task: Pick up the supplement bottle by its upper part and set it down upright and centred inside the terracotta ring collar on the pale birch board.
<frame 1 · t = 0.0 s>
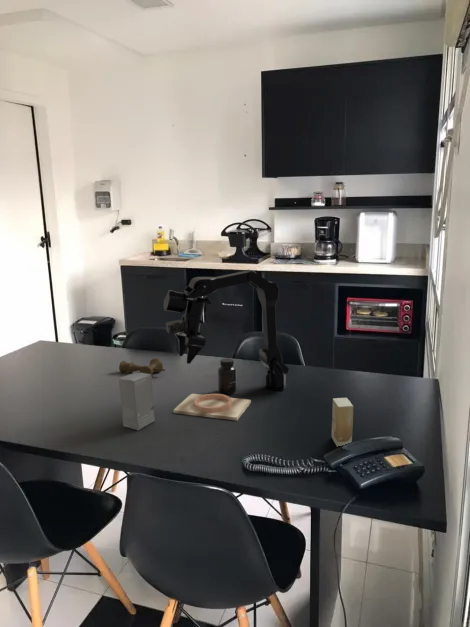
hand: (184, 359, 171), 15 cm above the table, tool pointing down, fingers open, 9 cm apart
supplement bottle: (227, 392, 183), on the table
skincare box 2: (341, 442, 143), on the table
ring collar: (212, 402, 169), on the birch board, point 1 cm above the table
skincare box: (138, 424, 158), on the table
birch board: (212, 407, 169), on the table
kendama: (143, 375, 204), on the table
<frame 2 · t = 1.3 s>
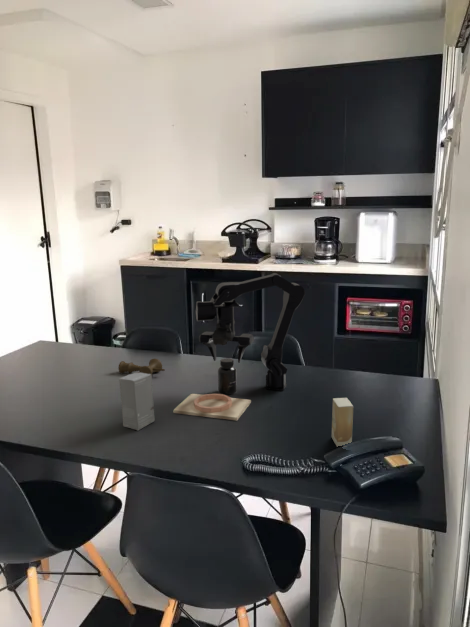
hand: (227, 361, 181), 11 cm above the table, tool pointing down, fingers open, 9 cm apart
nothing on the table moved.
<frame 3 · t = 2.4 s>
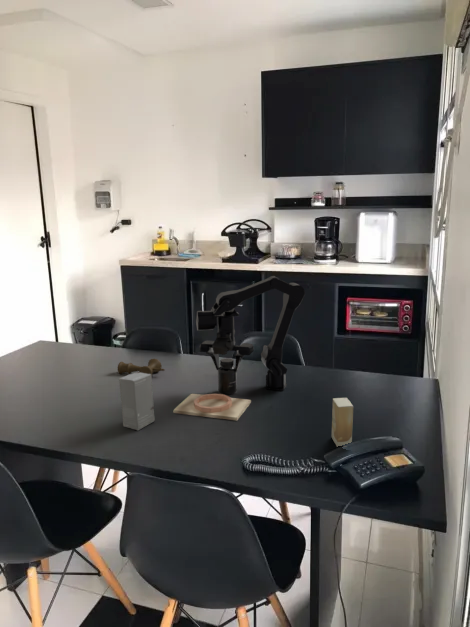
hand: (227, 370, 181), 8 cm above the table, tool pointing down, fingers closed on supplement bottle, 7 cm apart
supplement bottle: (227, 392, 183), on the table, touching gripper
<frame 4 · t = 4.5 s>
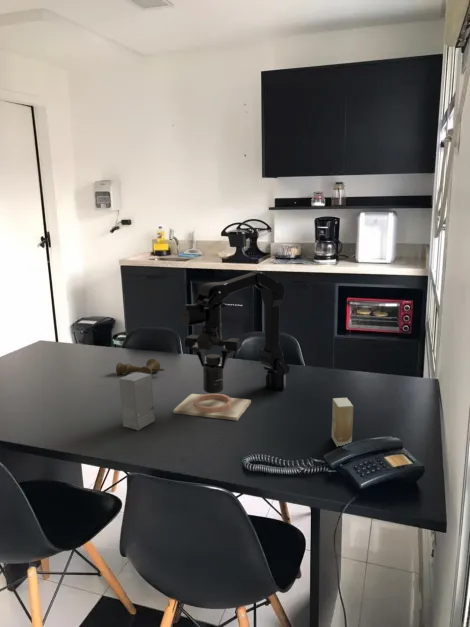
hand: (213, 367, 168), 13 cm above the table, tool pointing down, fingers closed on supplement bottle, 7 cm apart
supplement bottle: (213, 390, 170), point 5 cm above the table, touching gripper
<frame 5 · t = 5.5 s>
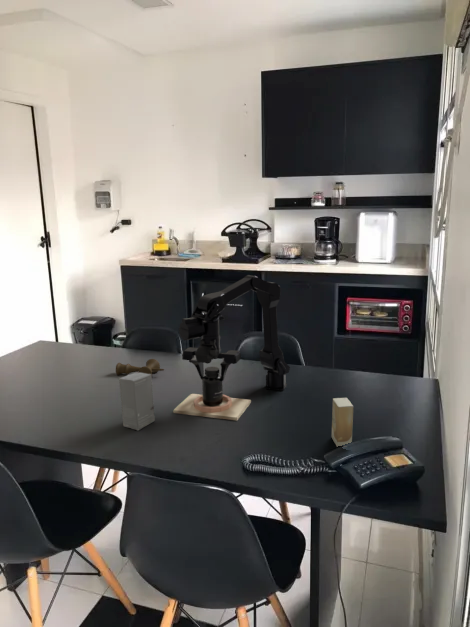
hand: (212, 380, 167), 10 cm above the table, tool pointing down, fingers closed on supplement bottle, 7 cm apart
supplement bottle: (212, 403, 169), point 1 cm above the table, touching gripper
when the fingers open (10 cm above the table, at t = 6.3 s): supplement bottle stays where it is, resting on birch board.
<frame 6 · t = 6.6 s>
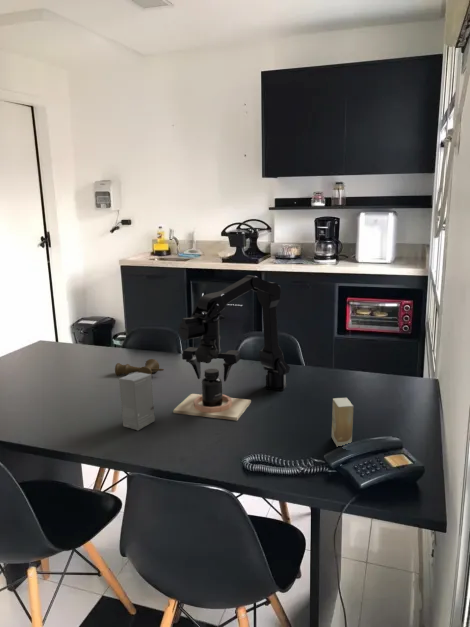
hand: (212, 379, 167), 10 cm above the table, tool pointing down, fingers open, 9 cm apart
supplement bottle: (212, 405, 169), point 1 cm above the table, touching birch board
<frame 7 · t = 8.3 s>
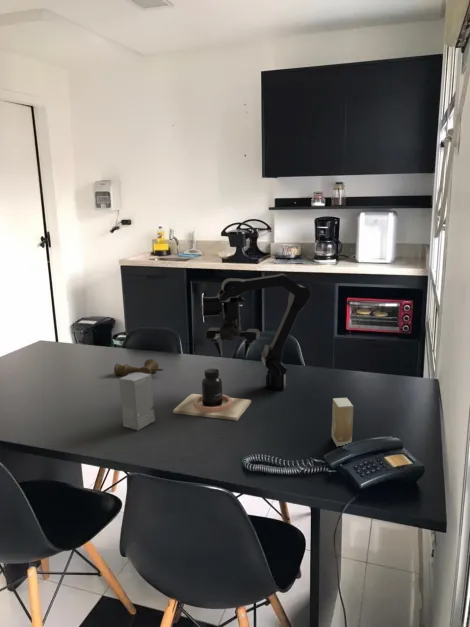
hand: (233, 356, 181), 13 cm above the table, tool pointing down, fingers open, 9 cm apart
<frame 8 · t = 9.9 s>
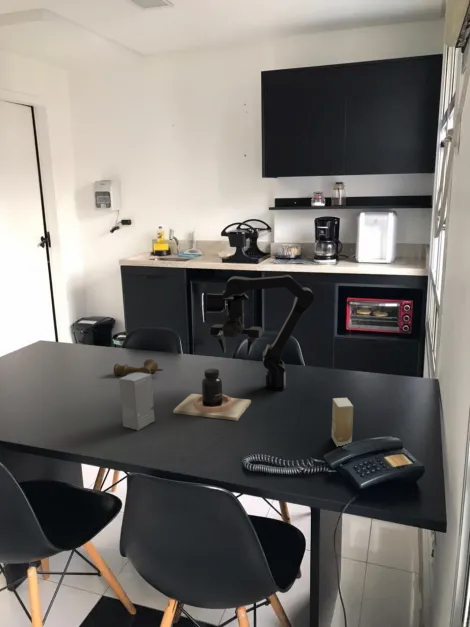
hand: (236, 353, 184), 13 cm above the table, tool pointing down, fingers open, 9 cm apart
at the end: supplement bottle 0.1 cm off-centre on the ring collar, point 0.8 cm above the ring collar's base; supplement bottle tilted 0°; the gripper is holding nothing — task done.
